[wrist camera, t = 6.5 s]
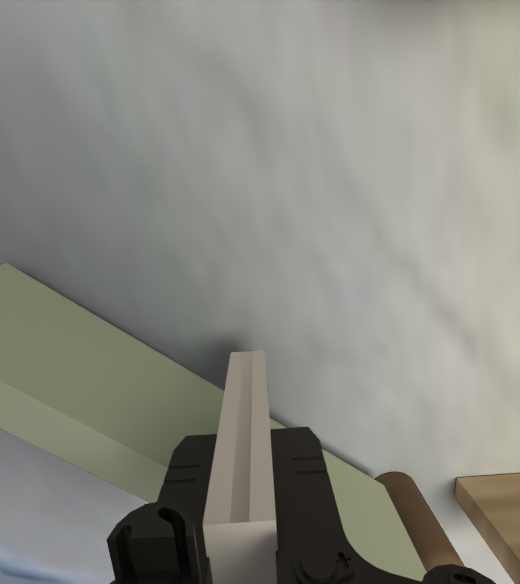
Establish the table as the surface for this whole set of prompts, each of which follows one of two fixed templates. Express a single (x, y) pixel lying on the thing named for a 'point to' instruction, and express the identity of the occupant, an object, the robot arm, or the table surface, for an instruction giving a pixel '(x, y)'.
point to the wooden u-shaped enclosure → (477, 506)
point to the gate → (141, 411)
